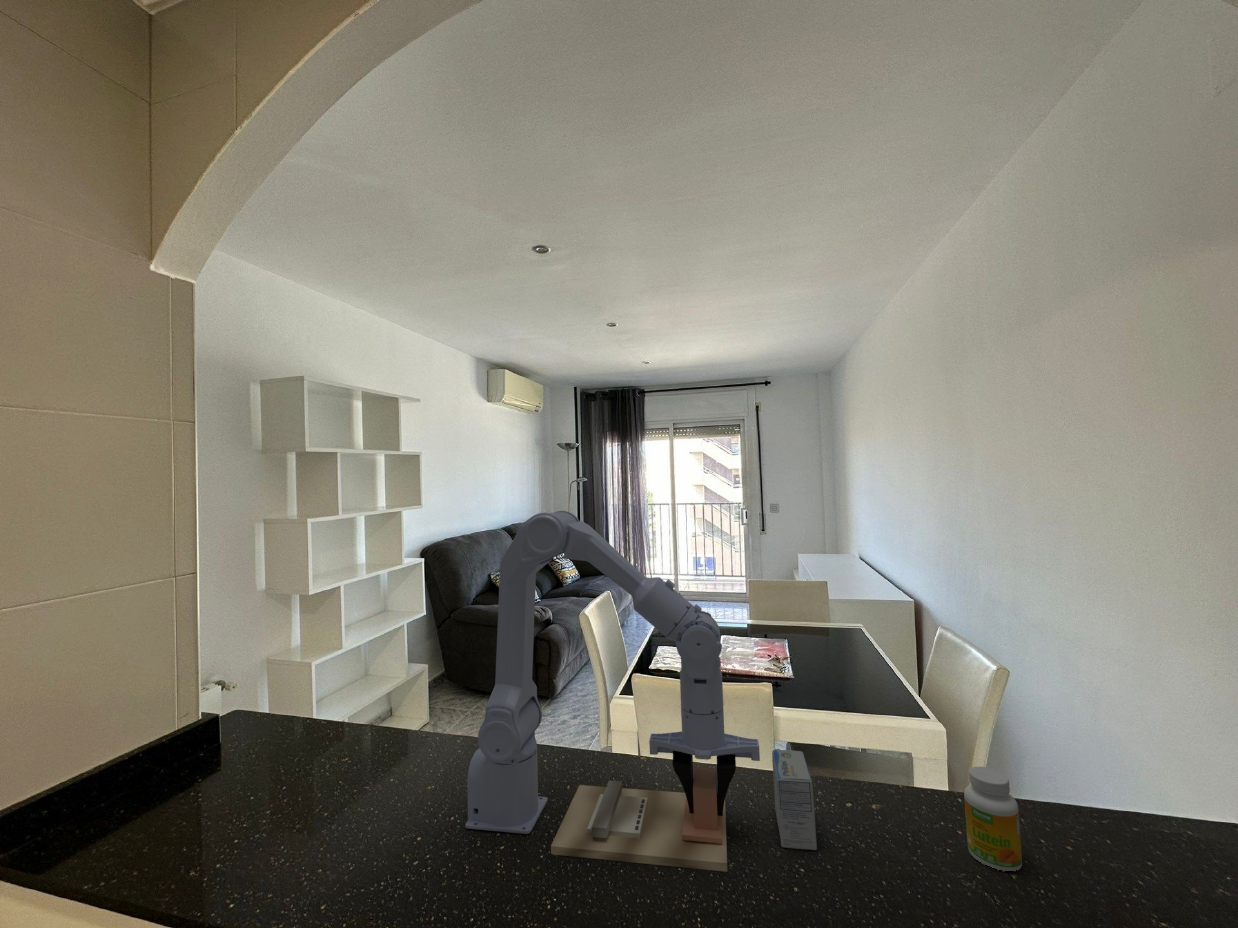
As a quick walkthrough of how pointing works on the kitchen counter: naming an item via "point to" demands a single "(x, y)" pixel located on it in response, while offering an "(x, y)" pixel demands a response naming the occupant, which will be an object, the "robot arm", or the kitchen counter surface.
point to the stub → (703, 809)
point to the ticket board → (634, 829)
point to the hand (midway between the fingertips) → (706, 810)
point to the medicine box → (794, 800)
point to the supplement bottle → (992, 820)
